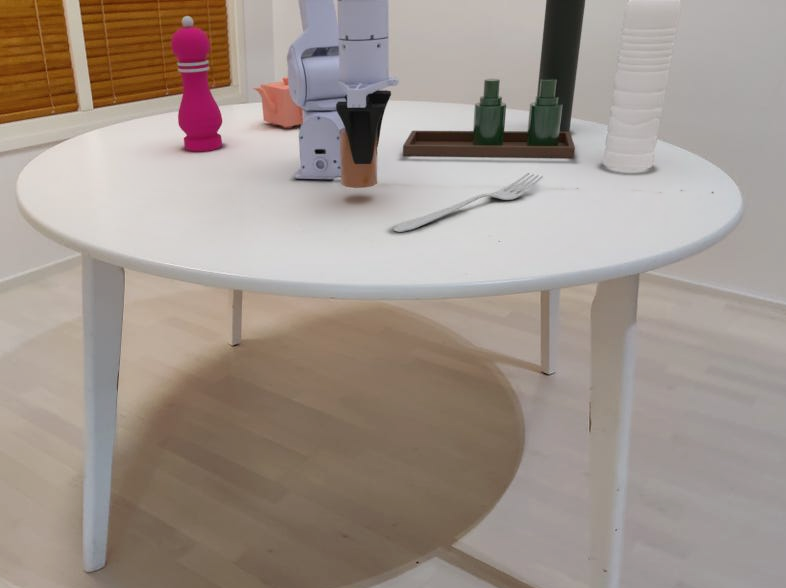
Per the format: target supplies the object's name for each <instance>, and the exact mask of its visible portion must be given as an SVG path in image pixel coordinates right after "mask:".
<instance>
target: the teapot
mask: <svg viewBox="0 0 786 588" xmlns="http://www.w3.org/2000/svg"><path fill="white" fill-rule="evenodd" d="M252 90H254V91H256V92H258V94H259V96H260V99H261V106H262V116H263V121H264V122H268V123H271V124H272V125H273V126H281V127H283V128H282V129H292V128H293V126H298V125H300V126H301V125H302V124H303V113H302V108H301V107H300V106H297V105H296V104H295V103H294V102H293V100H292V98H291V95H290V91H289V85H288V76H284V77H282V81H277V82H269V83H261V84H260V87H252Z"/></svg>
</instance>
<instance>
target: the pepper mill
mask: <svg viewBox="0 0 786 588" xmlns="http://www.w3.org/2000/svg"><path fill="white" fill-rule="evenodd" d="M181 24H182V26H183V27H181V28H179V29H177V30H176V31H175V32H174V33H173V34H172V36H171V40H170V46H171V51H172V54H173V55H174V56H175V57H176V58H177V59H178V61H177V62H176V65H177V71H178V72H180V76H181V80H182V88H183V89H182V96H181V101H180V104H179V109H178V112H177V113H178V114H177V123H178V127H179V128H180V130H181V131H182V132H183V133H184V134H185V135H186V136H185V137H183V144H184V149H185V150H186V151H189V152H210V151H214V150H215V151H216V150H219V149H220V148H222V147H223V140H222V135H221V133H218V132H219V130H220V129H221V127H222V125H223V116H222V112H221V110H220V107H219V105H218V103H217V101H216V100H215V98H214V96H213V93H212V92H211V91H212V90H211V88H210V85H209V81H208V71H209V70H210V66H209V62H210V61H209V60H208V59H207V56H208V54H209V53H210V50H211V44H210V43H211V42H210V39H209V37H208V35H207V33H206V32H205V31H204V30H202V29H200V28H198V27H195V26H194V19H193V18H192V17H191V16H189V15H185V16H183V17H182V19H181Z"/></svg>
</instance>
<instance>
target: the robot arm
mask: <svg viewBox="0 0 786 588" xmlns="http://www.w3.org/2000/svg"><path fill="white" fill-rule="evenodd" d="M336 2H337V3H336V4H337V6H336V5H335V0H298V7H299V14H300V19H301V26H302V33H301V34H300V35H298V37H297V38H296V39H295V40H294V41H292V43H291V44H290V45H289V47H288V50H287V54H286V63H287V77H288V85H289V91H290V95H291V98H292V100H293V102H294V103H295V104H296V105H297V106H300V107H301V108H302V113H303V124H302V125H301V124H300V128H299V131H298V146H299V148H298V149H299V163H300V169H299V170H298V171H297V172H296V173H295V174H294V178H295V179H298V180H300V179H301V180H335V179H336V178H341V167H340V136H339V130H340V129H342V128H345V129H346V132H347V136H348V140H349V145H350V149H351V154H352V158H353V161H354V164H371V162H372V159H373V155H374V148H375V140H376V133H377V148H378V147H379V143H380V136H381V129H382V123H383V118H384V115H385V112H386V108H387V105H388V103H389V101H390V98H391V96H392V91H391V90H387V89H386V88H389V87H395V86H398V85H399V83H400V81H399V79H400V78H399V77H398V76H389V73H390V72H389V0H337V1H336ZM336 7H337V10H336ZM384 89H385V90H384Z"/></svg>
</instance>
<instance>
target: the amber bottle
mask: <svg viewBox="0 0 786 588" xmlns="http://www.w3.org/2000/svg"><path fill="white" fill-rule="evenodd" d="M339 136H340V167H341V177H340V184H341V186H343V187H346V188H349V189H351V188H352V189H364V188H370V187H374V186H376V185H377V184H378V147H377V133H376V140H375V148H374V155H373V159H372V162H371V164H354V161H353V158H352V154H351V149H350V145H349V140H348V136H347V132H346V129H345V128H342V129H340V130H339Z"/></svg>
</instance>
